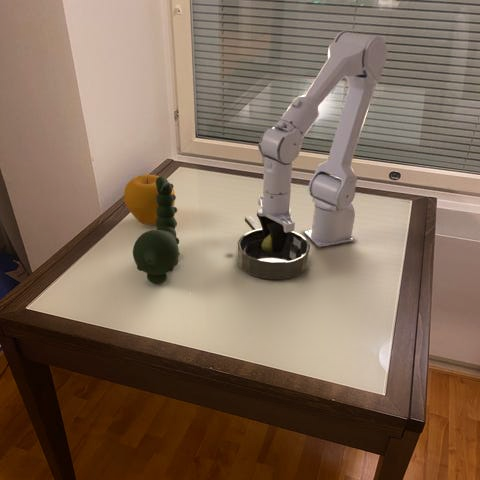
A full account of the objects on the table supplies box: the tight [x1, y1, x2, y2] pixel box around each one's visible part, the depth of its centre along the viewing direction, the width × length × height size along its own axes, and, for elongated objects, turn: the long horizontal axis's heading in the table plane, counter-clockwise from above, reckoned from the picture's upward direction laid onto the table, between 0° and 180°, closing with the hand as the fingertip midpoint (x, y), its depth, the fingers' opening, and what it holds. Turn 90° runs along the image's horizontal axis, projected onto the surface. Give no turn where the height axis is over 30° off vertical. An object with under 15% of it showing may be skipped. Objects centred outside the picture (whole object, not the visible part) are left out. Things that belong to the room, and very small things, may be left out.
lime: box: [261, 234, 274, 253], centre depth 111 cm, size 4×5×5 cm
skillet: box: [236, 229, 311, 280], centre depth 113 cm, size 16×16×4 cm
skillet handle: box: [244, 215, 262, 234], centre depth 120 cm, size 2×8×1 cm, turn 21°
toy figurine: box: [132, 175, 181, 284], centre depth 107 cm, size 9×19×25 cm
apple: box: [123, 174, 176, 226], centre depth 127 cm, size 13×13×11 cm
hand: (273, 247), depth 112 cm, fingers closed on lime, 3 cm apart
